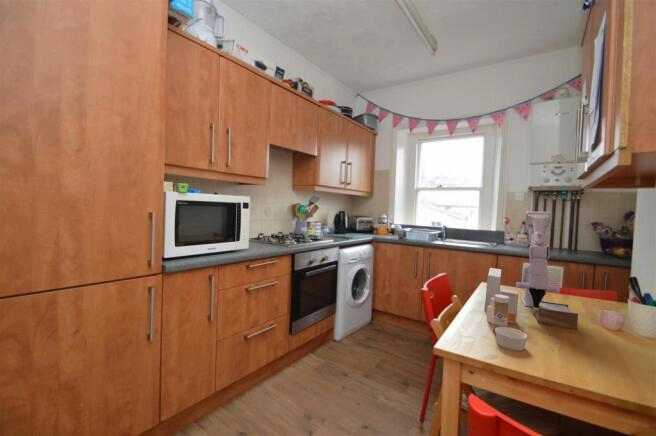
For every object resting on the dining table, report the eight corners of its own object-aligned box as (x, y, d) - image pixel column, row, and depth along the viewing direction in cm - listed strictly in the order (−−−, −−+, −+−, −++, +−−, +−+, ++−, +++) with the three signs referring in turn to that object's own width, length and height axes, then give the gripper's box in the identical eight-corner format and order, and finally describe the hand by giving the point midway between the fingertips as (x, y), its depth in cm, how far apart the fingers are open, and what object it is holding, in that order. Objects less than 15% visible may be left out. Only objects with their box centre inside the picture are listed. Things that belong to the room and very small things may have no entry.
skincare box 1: (498, 314, 124) (500, 276, 123) (484, 311, 126) (486, 275, 126) (499, 301, 142) (501, 268, 141) (487, 298, 144) (488, 267, 144)
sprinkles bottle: (493, 334, 103) (495, 296, 102) (492, 329, 107) (493, 293, 106) (508, 336, 101) (510, 298, 100) (506, 331, 105) (508, 295, 105)
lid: (535, 305, 124) (536, 301, 124) (565, 309, 120) (565, 305, 120) (541, 312, 115) (541, 308, 115) (573, 317, 111) (573, 313, 110)
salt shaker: (493, 320, 116) (494, 296, 116) (502, 324, 112) (503, 300, 112) (485, 321, 115) (487, 297, 114) (494, 325, 111) (495, 300, 111)
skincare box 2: (498, 321, 115) (500, 291, 115) (498, 317, 119) (499, 288, 119) (516, 324, 113) (518, 293, 112) (515, 320, 116) (517, 291, 116)
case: (532, 313, 125) (532, 300, 125) (566, 318, 120) (567, 304, 120) (538, 323, 114) (539, 308, 114) (577, 329, 109) (578, 314, 109)
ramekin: (532, 348, 93) (532, 335, 93) (517, 354, 89) (517, 340, 89) (504, 337, 101) (504, 324, 101) (488, 342, 97) (489, 329, 96)
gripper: (518, 274, 119) (516, 306, 119) (562, 278, 112) (560, 313, 113) (515, 270, 125) (514, 302, 126) (557, 275, 119) (555, 307, 119)
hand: (535, 307), depth 120 cm, fingers closed
